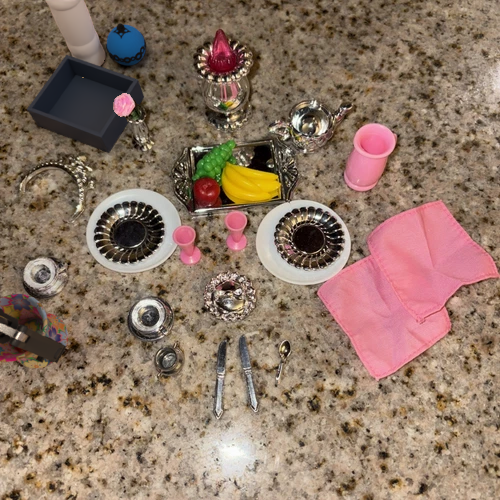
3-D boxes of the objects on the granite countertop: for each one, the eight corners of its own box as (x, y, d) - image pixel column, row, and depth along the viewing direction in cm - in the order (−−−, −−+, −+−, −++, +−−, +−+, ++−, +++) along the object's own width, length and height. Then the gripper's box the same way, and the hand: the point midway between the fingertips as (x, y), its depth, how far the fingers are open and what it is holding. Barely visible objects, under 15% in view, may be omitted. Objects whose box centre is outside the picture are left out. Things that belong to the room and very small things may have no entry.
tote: (37, 126, 105) (26, 109, 100) (75, 72, 111) (66, 54, 106) (109, 153, 103) (101, 137, 97) (144, 97, 108) (138, 79, 103)
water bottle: (91, 76, 110) (46, -22, 87) (69, 62, 112) (19, -39, 89) (112, 57, 112) (74, -45, 89) (90, 43, 114) (47, -61, 91)
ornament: (132, 39, 114) (121, 3, 105) (157, 59, 112) (148, 23, 103) (104, 60, 112) (90, 25, 103) (128, 80, 110) (116, 47, 100)
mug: (68, 305, 78) (41, 285, 68) (76, 362, 75) (50, 350, 65) (-9, 325, 77) (-47, 308, 67) (-3, 384, 74) (-42, 375, 64)
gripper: (48, 309, 53) (107, 346, 74) (-113, 236, 56) (-13, 292, 77) (9, 374, 50) (81, 394, 71) (-157, 295, 53) (-41, 336, 75)
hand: (33, 341), depth 74 cm, fingers closed on mug, 9 cm apart
